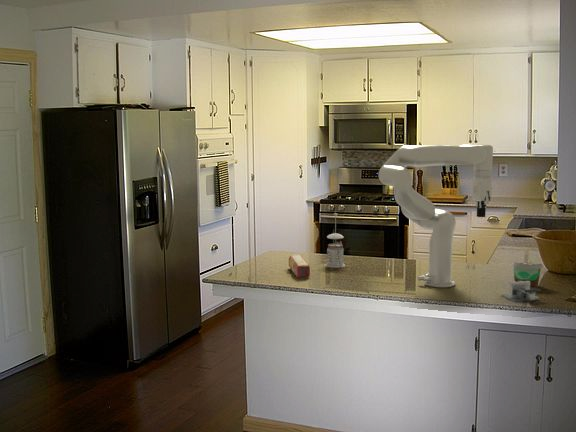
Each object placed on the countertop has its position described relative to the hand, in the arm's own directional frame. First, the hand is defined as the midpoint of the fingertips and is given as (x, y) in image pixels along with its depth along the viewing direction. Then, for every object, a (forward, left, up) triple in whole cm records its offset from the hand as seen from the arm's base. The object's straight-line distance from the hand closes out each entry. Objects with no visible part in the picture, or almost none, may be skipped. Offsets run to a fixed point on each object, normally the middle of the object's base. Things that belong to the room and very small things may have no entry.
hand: (480, 216), depth 304 cm
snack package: (-71, +33, -28) cm, 83 cm away
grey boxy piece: (+1, -35, -26) cm, 43 cm away
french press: (-50, +43, -28) cm, 72 cm away
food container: (+13, -16, -28) cm, 35 cm away
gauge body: (0, -31, -28) cm, 41 cm away
